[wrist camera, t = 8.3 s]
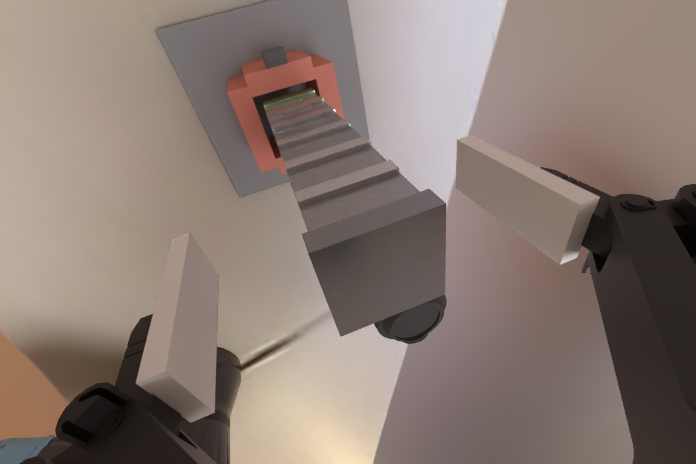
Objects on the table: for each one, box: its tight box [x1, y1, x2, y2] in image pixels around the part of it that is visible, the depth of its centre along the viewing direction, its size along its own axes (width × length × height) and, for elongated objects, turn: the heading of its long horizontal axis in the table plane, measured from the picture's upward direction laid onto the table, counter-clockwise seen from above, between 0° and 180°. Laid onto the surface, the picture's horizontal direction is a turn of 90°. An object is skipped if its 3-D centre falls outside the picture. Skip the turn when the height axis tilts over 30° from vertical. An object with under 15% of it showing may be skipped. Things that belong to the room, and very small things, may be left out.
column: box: [262, 87, 446, 336], centre depth 18 cm, size 4×4×19 cm
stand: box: [155, 0, 369, 197], centre depth 28 cm, size 16×16×7 cm
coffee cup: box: [374, 295, 446, 344], centre depth 40 cm, size 9×9×15 cm
